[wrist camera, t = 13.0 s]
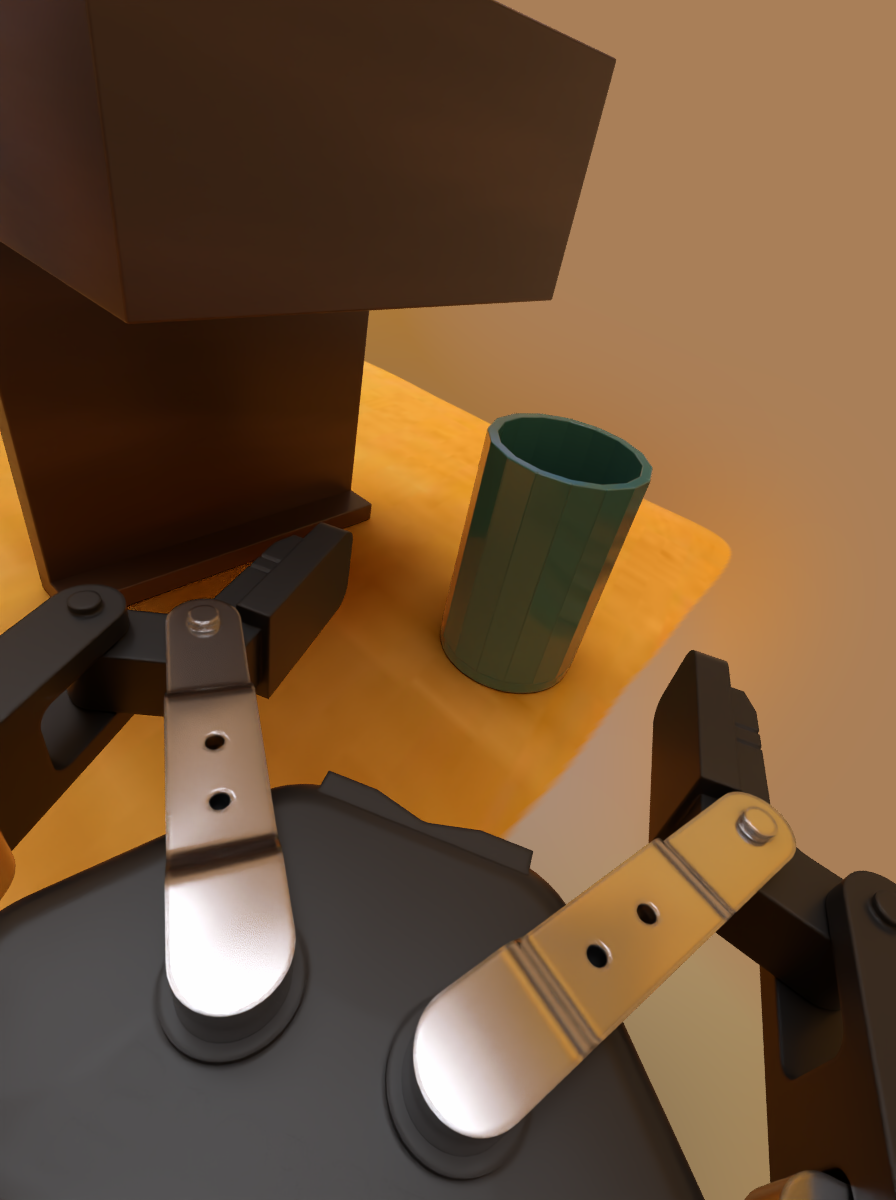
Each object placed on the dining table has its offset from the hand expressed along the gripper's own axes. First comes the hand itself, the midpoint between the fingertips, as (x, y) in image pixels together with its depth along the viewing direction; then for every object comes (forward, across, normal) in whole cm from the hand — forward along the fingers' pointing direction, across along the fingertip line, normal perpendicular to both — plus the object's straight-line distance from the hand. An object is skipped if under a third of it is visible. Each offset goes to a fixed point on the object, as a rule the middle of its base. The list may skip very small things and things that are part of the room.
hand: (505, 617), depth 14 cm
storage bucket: (+11, 0, +10) cm, 15 cm away
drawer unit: (+9, +11, +10) cm, 17 cm away
